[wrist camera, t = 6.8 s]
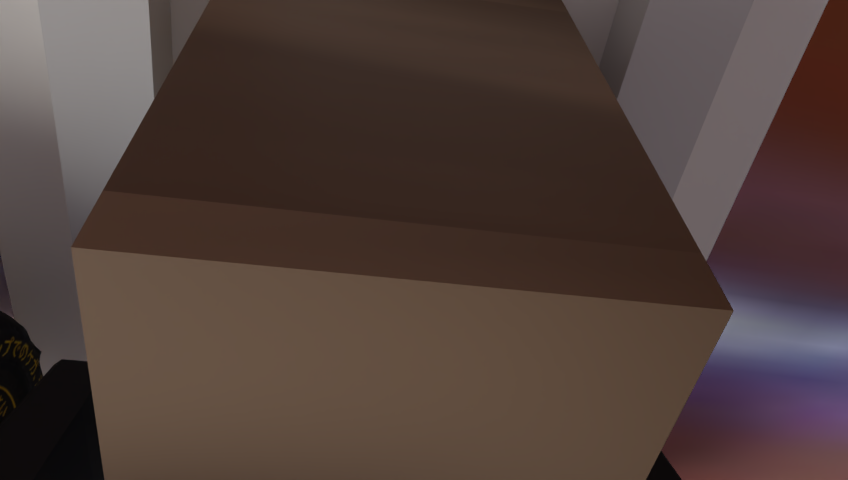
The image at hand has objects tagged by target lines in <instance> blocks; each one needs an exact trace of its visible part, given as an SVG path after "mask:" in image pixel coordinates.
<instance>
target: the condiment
mask: <svg viewBox="0 0 848 480" xmlns="http://www.w3.org/2000/svg"><path fill="white" fill-rule="evenodd" d="M41 352H42V351H40V350H39V349H38V348H37V347H36V346H35V345H34V344H33V342H32V341H31V340H30V337H29V335H28V332H27V330H26V329H25V328H24V327H23V326H22V325H20V324H19V323H18V322H17V321H15V320H14V319H13V318H11V317H10V316H8V315H6V314H5V313H3V312H1V311H0V423H1V422H2V421H3V420H4V419H5V418H6V417H7V416H8V415H9V414H10V413H11V412H12V411H13V409H14V408H15V407H16V406H17V405H18V404H19V403H20V402H21V401H22V400H23V399H24V397H25V396H26V395H27V394H28V393H29V392H30V391H31V390H32V389H33V387H34V386H35V385H36V384H37V383H38V382H39V381H40V380H41V379H42V377H43V374H42V370H41V367H40V362H39V361H40V355H41Z"/></svg>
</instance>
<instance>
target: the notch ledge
mask: <svg viewBox="0 0 848 480" xmlns="http://www.w3.org/2000/svg"><path fill="white" fill-rule="evenodd" d="M209 1H210V0H0V254H1V259H2V264H3V268H4V273H5V278H6V282H7V287H8V292H9V296H10V301H11V306H12V310H13V315H14V320H15V321H17V322H18V323H19V324H20V325H22V326H23V327H24V328H25V329H26V330H27V332H28V335H29V337H30V340H31V341H32V342H33V344H34V345H35V346H36V347H37V348H38V349H39V350H40V351H42V352H41V355H40V361H39V362H40V367H41V370H42V374H43V376H44V375H45V374H46V373H47V372H48V371H49V370H50V368H51V367H52V366H53V365H54V364H55V363H57V362H58V361H60V360H61V359H66V360H78V361H87V356H86V349H85V342H84V335H83V328H82V321H81V314H80V307H79V300H78V293H77V286H76V279H75V273H74V266H73V259H72V252H71V246H72V244H73V243H74V241H75V239H76V237H77V235H78V234H79V232H80V230H81V228H82V227H83V225H84V223H85V221H86V219H87V218H88V216H89V214H90V212H91V211H92V209H93V207H94V205H95V203H96V202H97V200H98V198H99V196H100V195H101V193H102V191H103V189H104V187H105V186H106V184H107V182H108V180H109V179H110V177H111V175H112V173H113V171H114V170H115V168H116V166H117V164H118V163H119V161H120V159H121V157H122V155H123V154H124V152H125V150H126V148H127V147H128V145H129V143H130V141H131V139H132V138H133V136H134V134H135V132H136V131H137V129H138V127H139V125H140V123H141V122H142V120H143V118H144V116H145V115H146V113H147V111H148V109H149V107H150V106H151V104H152V102H153V100H154V99H155V97H156V95H157V93H158V91H159V90H160V88H161V86H162V84H163V83H164V81H165V79H166V77H167V75H168V74H169V72H170V70H171V68H172V67H173V65H174V63H175V61H176V59H177V58H178V56H179V54H180V52H181V51H182V49H183V47H184V45H185V43H186V42H187V40H188V38H189V36H190V35H191V33H192V31H193V29H194V27H195V26H196V24H197V22H198V20H199V19H200V17H201V15H202V13H203V11H204V10H205V8H206V6H207V4H208V2H209ZM562 2H563V3H564V5H565V7H566V9H567V11H568V12H569V14H570V16H571V18H572V20H573V21H574V23H575V25H576V27H577V29H578V30H579V32H580V34H581V36H582V38H583V40H584V41H585V43H586V45H587V47H588V49H589V50H590V52H591V54H592V56H593V58H594V59H595V61H596V63H597V65H598V67H599V68H600V70H601V72H602V74H603V76H604V77H605V79H606V81H607V83H608V85H609V86H610V88H611V90H612V92H613V94H614V96H615V97H616V99H617V101H618V103H619V105H620V106H621V108H622V110H623V112H624V114H625V115H626V117H627V119H628V121H629V123H630V124H631V126H632V128H633V130H634V132H635V133H636V135H637V137H638V139H639V141H640V143H641V144H642V146H643V148H644V150H645V152H646V153H647V155H648V157H649V159H650V161H651V162H652V164H653V166H654V168H655V170H656V171H657V173H658V175H659V177H660V179H661V180H662V182H663V184H664V186H665V188H666V190H667V191H668V193H669V195H670V197H671V199H672V200H673V202H674V204H675V206H676V208H677V209H678V211H679V213H680V215H681V217H682V218H683V220H684V222H685V224H686V226H687V227H688V229H689V231H690V233H691V235H692V237H693V238H694V240H695V242H696V244H697V246H698V247H699V249H700V251H701V253H702V255H703V256H704V258H705V260H706V261H707V259H708V257H709V255H710V253H711V251H712V249H713V246H714V244H715V242H716V240H717V238H718V236H719V234H720V231H721V229H722V227H723V225H724V223H725V221H726V219H727V216H728V214H729V212H730V210H731V208H732V206H733V204H734V201H735V199H736V197H737V195H738V193H739V191H740V189H741V186H742V184H743V182H744V180H745V178H746V176H747V174H748V172H749V169H750V167H751V165H752V163H753V161H754V159H755V157H756V154H757V152H758V150H759V148H760V146H761V144H762V142H763V139H764V137H765V135H766V133H767V131H768V129H769V127H770V124H771V122H772V120H773V118H774V116H775V114H776V112H777V109H778V107H779V105H780V103H781V101H782V99H783V97H784V95H785V92H786V90H787V88H788V86H789V84H790V82H791V80H792V77H793V75H794V73H795V71H796V69H797V67H798V65H799V62H800V60H801V58H802V56H803V54H804V52H805V50H806V47H807V45H808V43H809V41H810V39H811V37H812V35H813V33H814V30H815V28H816V26H817V24H818V22H819V20H820V18H821V15H822V13H823V11H824V9H825V7H826V5H827V3H828V0H562Z"/></svg>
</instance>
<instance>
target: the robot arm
mask: <svg viewBox="0 0 848 480" xmlns="http://www.w3.org/2000/svg"><path fill="white" fill-rule="evenodd" d="M0 480H104V473H103V466H102V459H101V453H100V446H99V439H98V432H97V425H96V418H95V411H94V404H93V397H92V390H91V383H90V376H89V369H88V363H87V361H78V360H66V359H61V360H60V361H58V362H57V363H55V364H54V365H53V366H52V367H51V368H50V370H49V371H48V372H47V373H46V374H45V375H44V376H43V377H42V379H41V380H40V381H39V382H38V383H37V384H36V385H35V386H34V387H33V389H32V390H31V391H30V392H29V393H28V394H27V395H26V396H25V397H24V399H23V400H22V401H21V402H20V403H19V404H18V405H17V406H16V407H15V408H14V409H13V411H12V412H11V413H10V414H9V415H8V416H7V417H6V418H5V419H4V420H3V421H2V422H1V423H0ZM646 480H681V478H680V477H679V475H678V474H677V473H676V471H675V470H674V468H673V467H672V466H671V464H670V463H669V461H668V460H667V459H666V457H665V456H664V454H663V453H662V451H660V453H659V455H658V457H657V459H656V461H655V463H654V465H653V467H652V469H651V471H650V473H649V475H648V476H647V478H646Z"/></svg>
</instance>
